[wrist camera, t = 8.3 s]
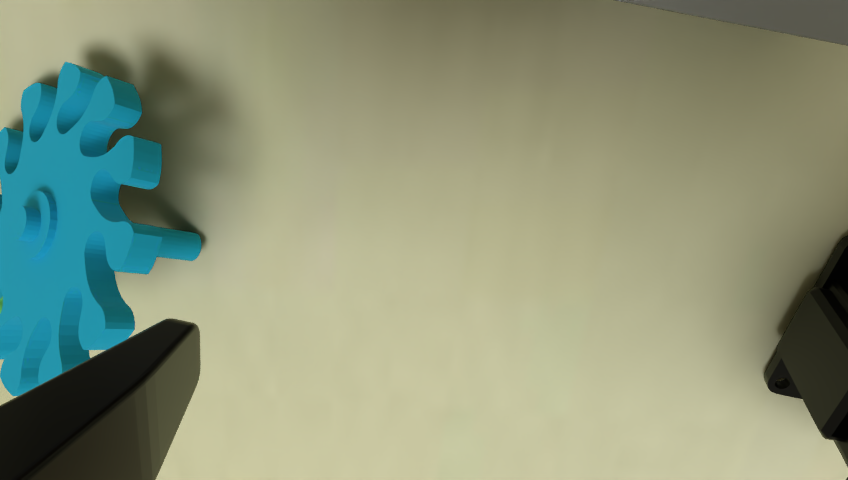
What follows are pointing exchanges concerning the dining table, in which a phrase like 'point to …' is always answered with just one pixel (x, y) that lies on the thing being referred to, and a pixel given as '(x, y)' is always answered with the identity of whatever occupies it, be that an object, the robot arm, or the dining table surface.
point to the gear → (73, 225)
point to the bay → (769, 15)
